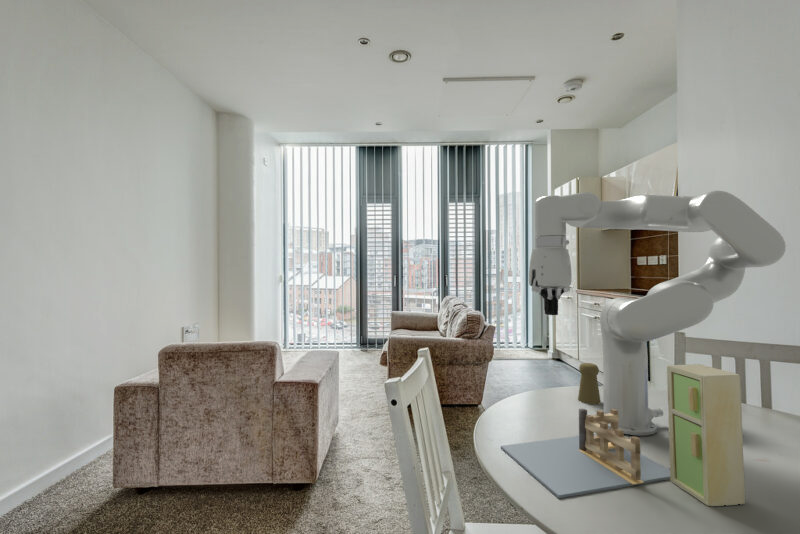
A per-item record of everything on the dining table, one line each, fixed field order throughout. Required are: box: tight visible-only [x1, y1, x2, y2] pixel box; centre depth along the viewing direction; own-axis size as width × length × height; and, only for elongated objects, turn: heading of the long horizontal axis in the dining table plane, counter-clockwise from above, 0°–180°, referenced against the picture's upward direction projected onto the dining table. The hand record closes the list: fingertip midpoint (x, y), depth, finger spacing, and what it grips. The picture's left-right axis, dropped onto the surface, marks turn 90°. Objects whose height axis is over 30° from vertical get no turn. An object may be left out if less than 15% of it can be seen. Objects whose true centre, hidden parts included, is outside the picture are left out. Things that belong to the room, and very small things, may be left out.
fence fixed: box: [578, 408, 619, 451], centre depth 81 cm, size 9×2×9 cm, turn 105°
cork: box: [577, 362, 601, 405], centre depth 112 cm, size 6×6×11 cm
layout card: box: [500, 433, 671, 499], centre depth 75 cm, size 26×20×1 cm
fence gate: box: [585, 414, 642, 480], centre depth 73 cm, size 12×1×7 cm, turn 15°
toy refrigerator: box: [666, 363, 746, 507], centre depth 65 cm, size 8×7×21 cm
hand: (551, 314), depth 98 cm, fingers closed
